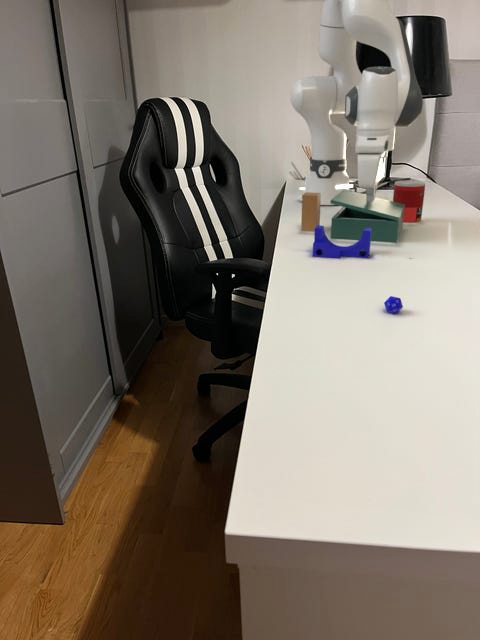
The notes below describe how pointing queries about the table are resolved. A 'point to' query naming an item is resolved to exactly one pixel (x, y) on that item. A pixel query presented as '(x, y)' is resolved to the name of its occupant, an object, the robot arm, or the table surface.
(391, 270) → the table surface
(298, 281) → the table surface
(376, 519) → the table surface
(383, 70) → the robot arm
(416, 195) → the canned food
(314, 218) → the carton
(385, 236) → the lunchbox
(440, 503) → the table surface
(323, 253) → the blue curved bracket
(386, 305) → the die
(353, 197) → the lid
